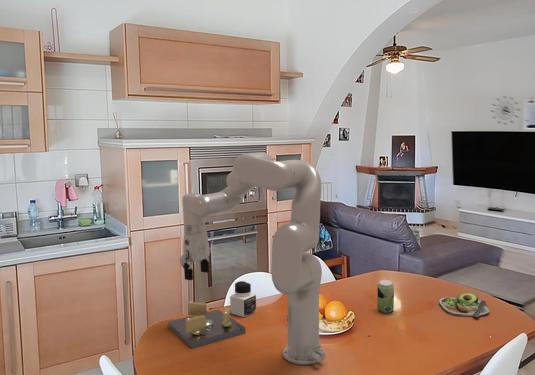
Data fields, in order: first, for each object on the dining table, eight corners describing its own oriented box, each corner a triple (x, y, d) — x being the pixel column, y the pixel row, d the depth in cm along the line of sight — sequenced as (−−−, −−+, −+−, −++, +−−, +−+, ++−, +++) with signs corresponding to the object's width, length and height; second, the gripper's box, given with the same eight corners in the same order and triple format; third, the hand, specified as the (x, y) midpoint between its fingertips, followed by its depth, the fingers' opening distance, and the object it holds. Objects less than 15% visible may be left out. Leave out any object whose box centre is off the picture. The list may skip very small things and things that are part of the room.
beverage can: (392, 307, 178) (392, 277, 177) (395, 315, 171) (396, 283, 170) (375, 307, 179) (376, 277, 177) (378, 314, 172) (378, 283, 170)
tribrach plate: (245, 333, 157) (245, 322, 157) (191, 348, 147) (191, 337, 146) (218, 314, 174) (218, 305, 174) (168, 327, 163) (167, 317, 163)
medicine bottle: (244, 318, 170) (243, 286, 169) (230, 313, 175) (229, 283, 173) (256, 312, 176) (256, 281, 175) (242, 308, 180) (241, 278, 179)
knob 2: (232, 320, 162) (231, 305, 161) (230, 328, 156) (230, 312, 155) (222, 321, 162) (222, 305, 161) (221, 328, 156) (220, 312, 155)
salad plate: (499, 322, 164) (500, 309, 164) (447, 319, 167) (448, 307, 166) (482, 302, 184) (482, 291, 183) (435, 300, 186) (436, 289, 185)
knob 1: (207, 332, 153) (206, 315, 152) (189, 337, 150) (188, 320, 149) (202, 329, 156) (202, 312, 155) (185, 333, 152) (184, 316, 152)
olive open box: (203, 319, 163) (203, 304, 163) (187, 318, 165) (186, 302, 165) (207, 316, 167) (207, 301, 166) (191, 314, 168) (190, 299, 168)
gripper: (188, 234, 153) (191, 284, 155) (217, 224, 168) (219, 270, 170) (170, 232, 156) (173, 281, 158) (200, 223, 172) (202, 268, 173)
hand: (197, 275), depth 164 cm, fingers open, 9 cm apart
